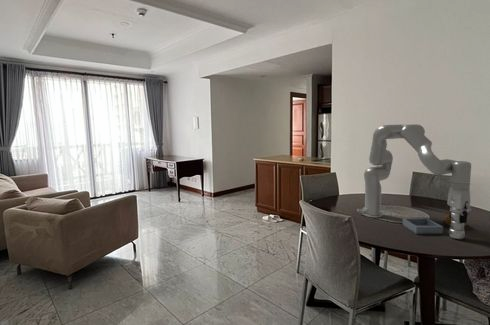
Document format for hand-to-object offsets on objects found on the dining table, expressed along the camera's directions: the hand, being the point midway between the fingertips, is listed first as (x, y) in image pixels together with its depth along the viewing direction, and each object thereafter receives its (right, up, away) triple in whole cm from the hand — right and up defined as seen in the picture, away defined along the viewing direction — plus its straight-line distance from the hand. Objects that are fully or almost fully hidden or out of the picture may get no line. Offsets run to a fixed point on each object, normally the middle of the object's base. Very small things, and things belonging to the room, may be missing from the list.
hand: (457, 220), depth 145 cm
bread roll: (+12, -7, +19) cm, 24 cm away
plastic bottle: (0, -10, +1) cm, 10 cm away
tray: (-9, -8, +14) cm, 19 cm away
